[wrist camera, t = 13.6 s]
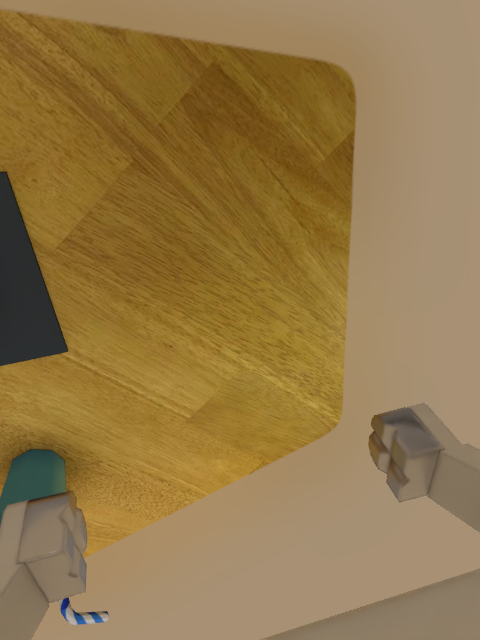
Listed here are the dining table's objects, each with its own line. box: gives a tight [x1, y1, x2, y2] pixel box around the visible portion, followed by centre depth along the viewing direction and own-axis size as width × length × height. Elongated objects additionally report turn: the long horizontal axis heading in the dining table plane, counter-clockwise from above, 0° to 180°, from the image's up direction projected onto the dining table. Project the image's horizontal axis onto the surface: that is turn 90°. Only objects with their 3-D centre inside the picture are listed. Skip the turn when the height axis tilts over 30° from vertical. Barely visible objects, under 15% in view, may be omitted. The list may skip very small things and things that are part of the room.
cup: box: [0, 449, 109, 625], centre depth 41 cm, size 14×8×15 cm, turn 49°
